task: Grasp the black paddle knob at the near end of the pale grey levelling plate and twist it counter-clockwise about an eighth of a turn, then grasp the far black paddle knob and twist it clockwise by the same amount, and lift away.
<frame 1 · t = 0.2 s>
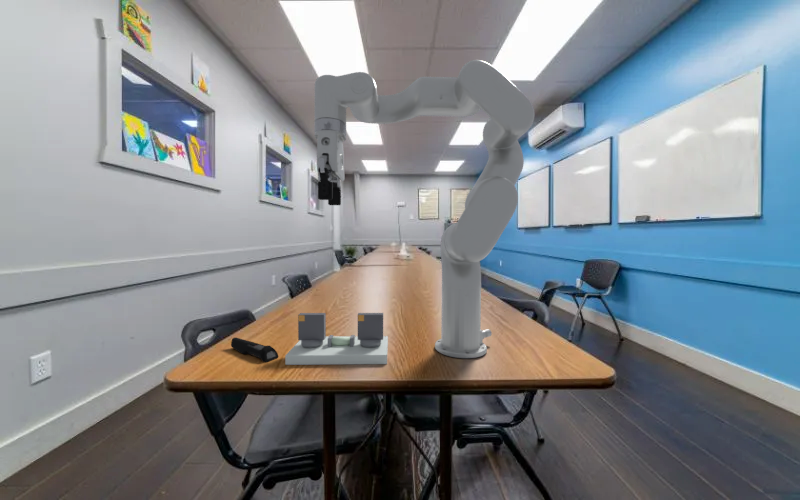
hand: (330, 202, 72), 36 cm above the table, tool pointing down, fingers open, 9 cm apart
knob near: (370, 328, 71), point 6 cm above the table, hinge at 0.0°
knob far: (312, 328, 71), point 6 cm above the table, hinge at 0.0°
level plate: (341, 353, 71), on the table
electric trimmer: (252, 356, 70), on the table
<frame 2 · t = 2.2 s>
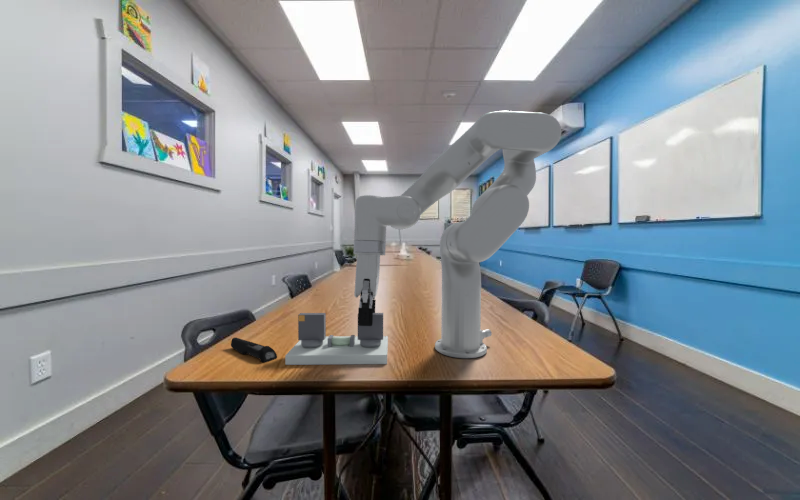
hand: (367, 319, 71), 8 cm above the table, tool pointing down, fingers open, 9 cm apart
nothing on the table moved.
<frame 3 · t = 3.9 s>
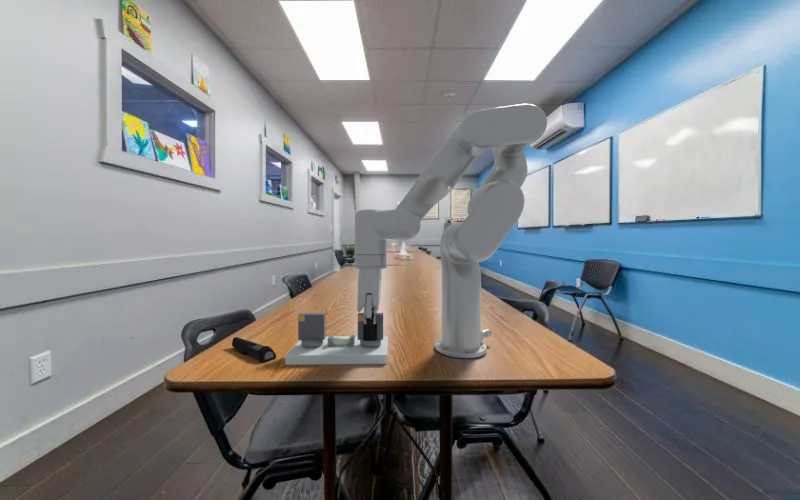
hand: (370, 338, 71), 4 cm above the table, tool pointing down, fingers closed on knob near, 2 cm apart
knob near: (370, 328, 71), point 6 cm above the table, hinge at 0.0°, touching gripper
everything else where it was.
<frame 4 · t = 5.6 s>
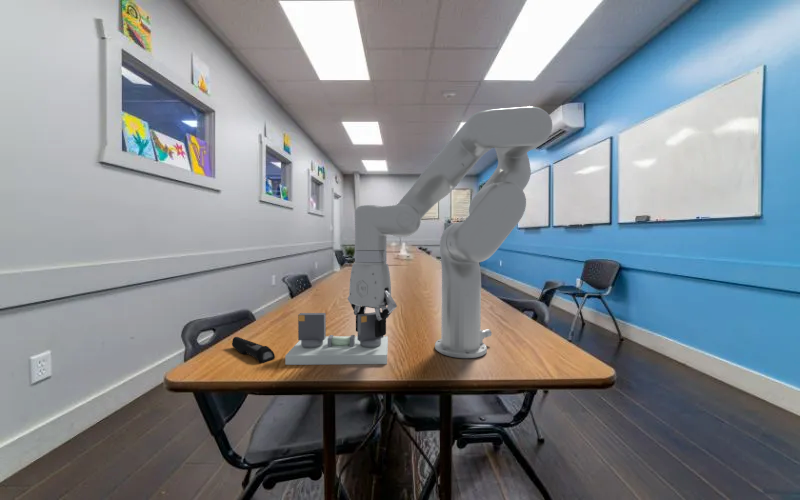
hand: (370, 332, 71), 5 cm above the table, tool pointing down, fingers open, 5 cm apart
knob near: (370, 328, 71), point 6 cm above the table, hinge at 31.0°
everything else where it was.
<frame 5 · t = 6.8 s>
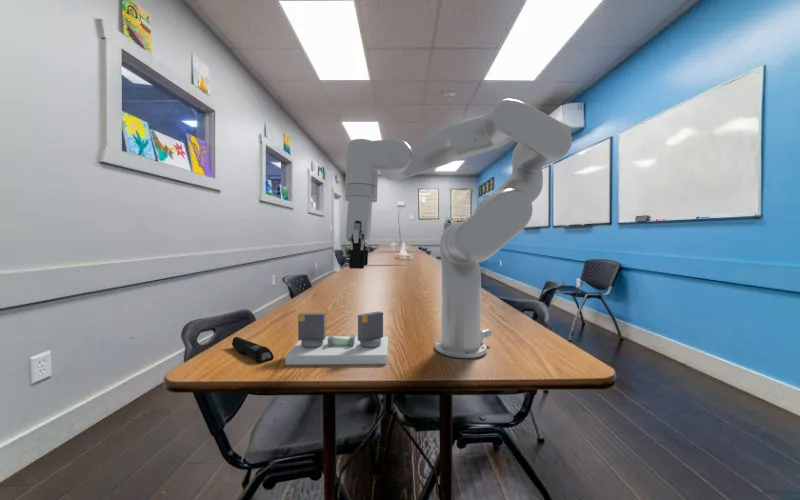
hand: (359, 266, 70), 21 cm above the table, tool pointing down, fingers open, 9 cm apart
knob near: (370, 328, 71), point 6 cm above the table, hinge at 36.4°
everything else where it was.
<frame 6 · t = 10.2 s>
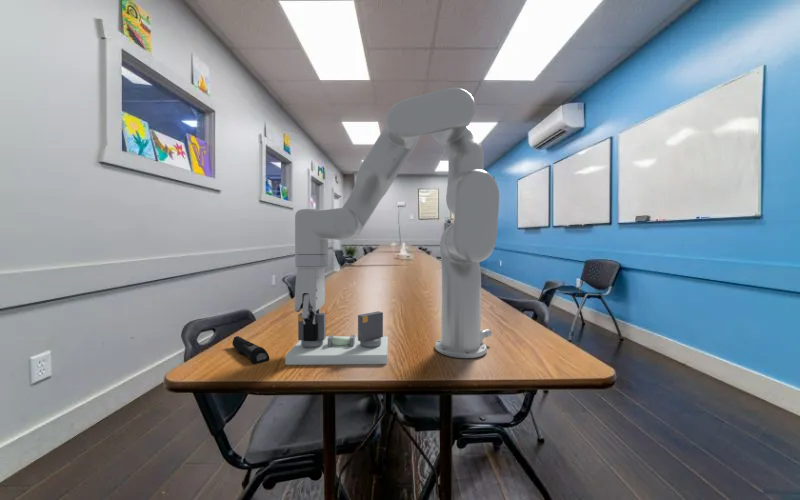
hand: (312, 338, 71), 4 cm above the table, tool pointing down, fingers closed on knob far, 2 cm apart
knob near: (370, 328, 71), point 6 cm above the table, hinge at 39.3°
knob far: (312, 328, 71), point 6 cm above the table, hinge at 0.0°, touching gripper
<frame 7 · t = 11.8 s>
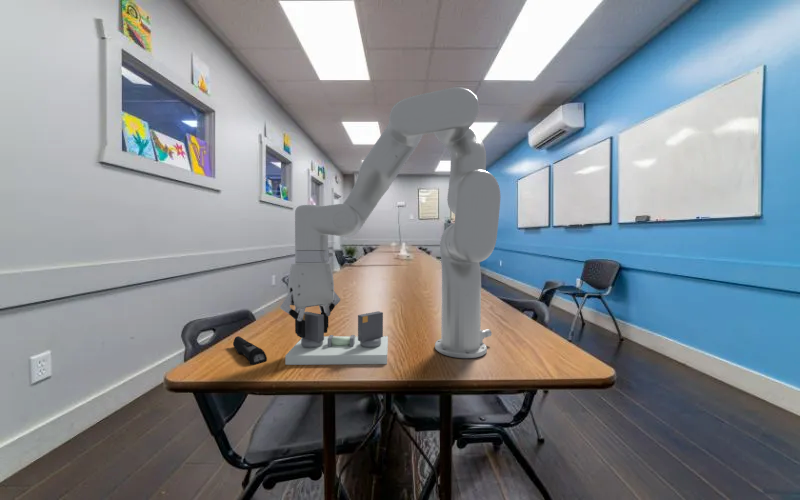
hand: (312, 333, 71), 5 cm above the table, tool pointing down, fingers open, 4 cm apart
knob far: (312, 328, 71), point 6 cm above the table, hinge at -33.9°
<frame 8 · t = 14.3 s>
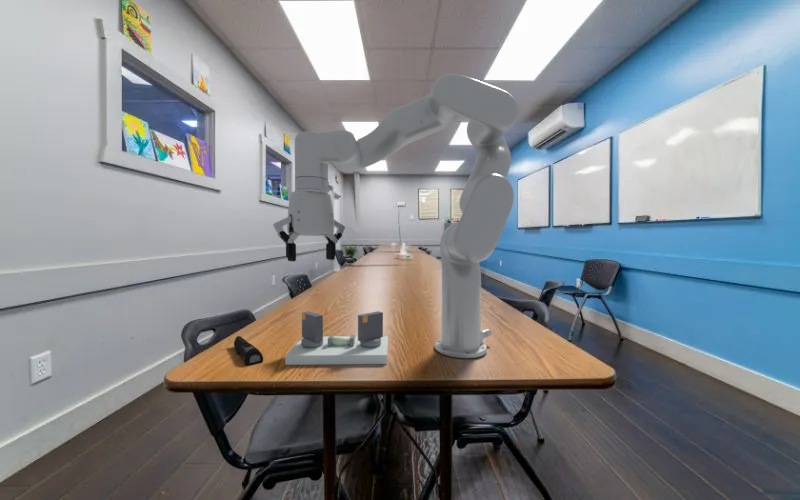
hand: (311, 260, 70), 22 cm above the table, tool pointing down, fingers open, 9 cm apart
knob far: (312, 328, 71), point 6 cm above the table, hinge at -42.0°
at the end: knob near at +39° (first picture: +0°); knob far at -42° (first picture: +0°); the gripper is holding nothing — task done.
